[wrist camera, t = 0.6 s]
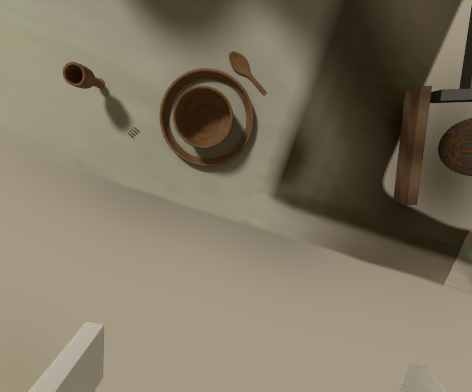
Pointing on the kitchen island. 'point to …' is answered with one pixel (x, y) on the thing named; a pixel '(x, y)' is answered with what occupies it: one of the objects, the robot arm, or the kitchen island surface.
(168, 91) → the place setting
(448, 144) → the vase
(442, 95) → the lopsided grey dumbbell
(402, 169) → the channel
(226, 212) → the kitchen island surface
